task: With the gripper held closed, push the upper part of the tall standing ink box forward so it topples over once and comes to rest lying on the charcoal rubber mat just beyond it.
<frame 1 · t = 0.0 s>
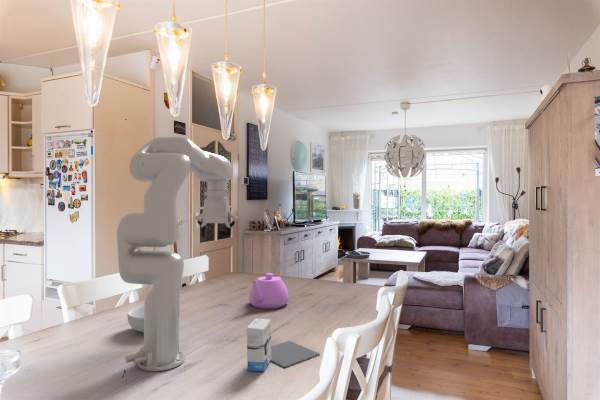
hand: (216, 237, 155), 31 cm above the table, tool pointing down, fingers open, 9 cm apart
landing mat: (287, 353, 117), on the table
cereal bowl: (153, 330, 137), on the table
teapot: (267, 305, 172), on the table
ink box: (260, 365, 109), on the table, touching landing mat
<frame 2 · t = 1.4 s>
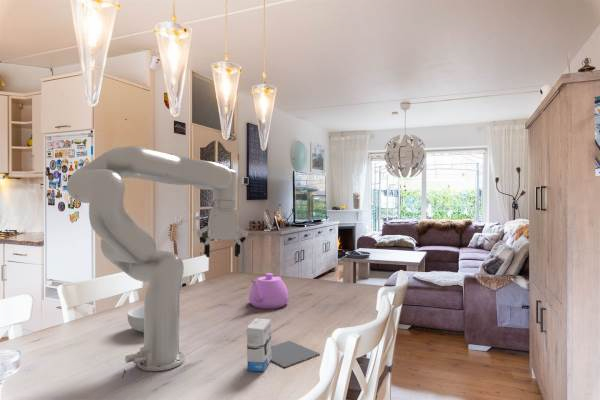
hand: (222, 256, 130), 27 cm above the table, tool pointing down, fingers open, 9 cm apart
nothing on the table moved.
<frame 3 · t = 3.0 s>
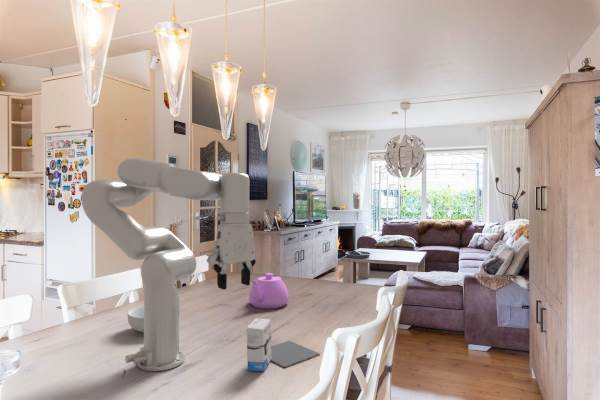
hand: (234, 285, 103), 24 cm above the table, tool pointing down, fingers open, 6 cm apart
nothing on the table moved.
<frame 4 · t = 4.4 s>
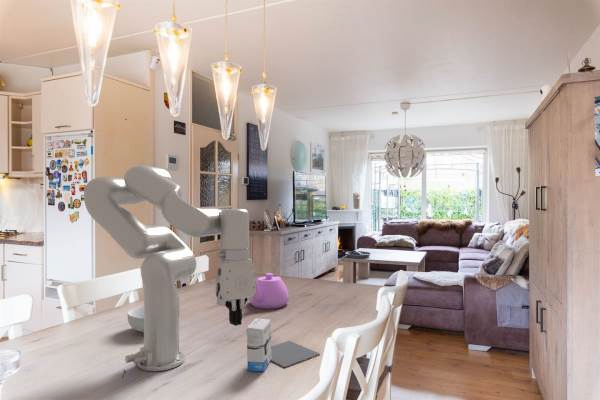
hand: (235, 323, 103), 14 cm above the table, tool pointing down, fingers closed
nothing on the table moved.
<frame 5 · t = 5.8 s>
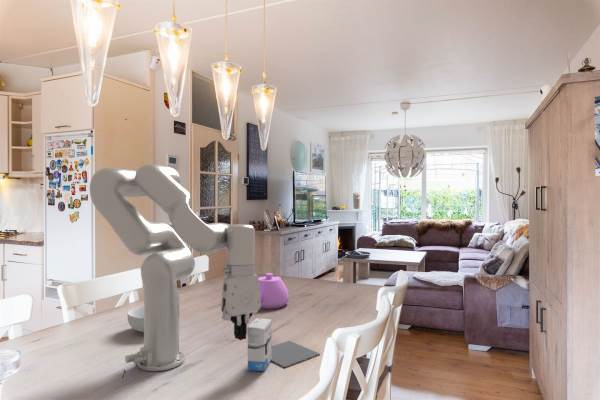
hand: (240, 338, 104), 9 cm above the table, tool pointing down, fingers closed
ink box: (260, 364, 109), on the table, touching gripper, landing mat
everything else where it was.
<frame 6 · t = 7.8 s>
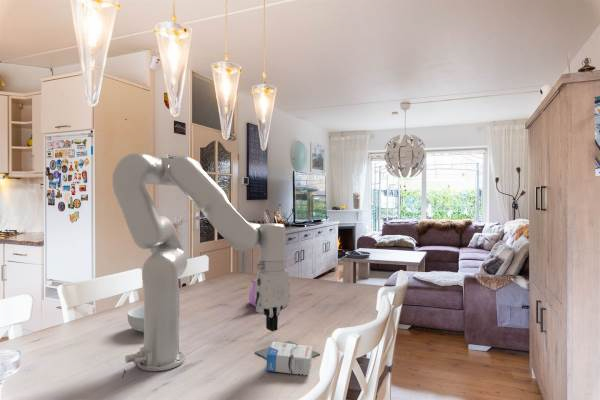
hand: (271, 329, 112), 9 cm above the table, tool pointing down, fingers closed
ink box: (268, 355, 108), point 3 cm above the table, touching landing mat
everything else where it was.
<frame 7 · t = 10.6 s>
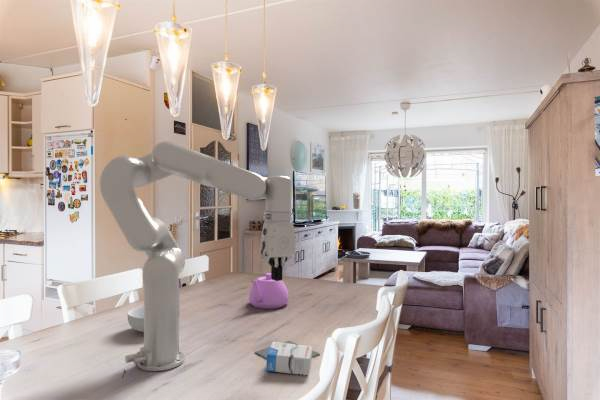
hand: (276, 279, 114), 23 cm above the table, tool pointing down, fingers closed
nothing on the table moved.
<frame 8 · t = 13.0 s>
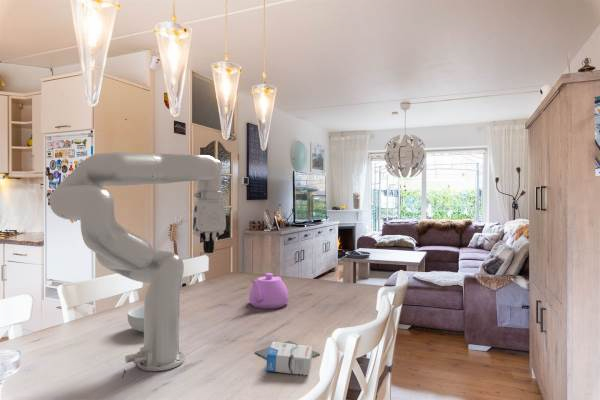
hand: (208, 252, 127), 29 cm above the table, tool pointing down, fingers closed
nothing on the table moved.
at the end: ink box tilted 93°; ink box touching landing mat, table; ink box inside the target area (6.8 cm from its centre), point 3.1 cm above the table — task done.
